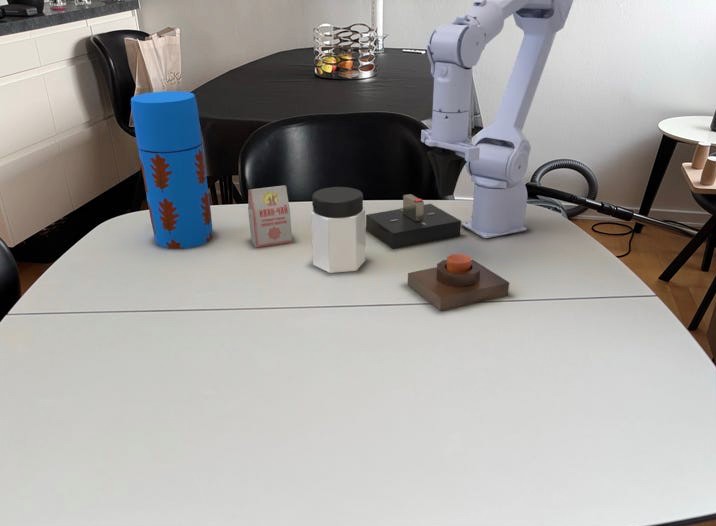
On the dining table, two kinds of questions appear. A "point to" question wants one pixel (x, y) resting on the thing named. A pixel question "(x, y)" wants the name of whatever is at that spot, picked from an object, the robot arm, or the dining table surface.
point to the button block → (457, 285)
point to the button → (458, 263)
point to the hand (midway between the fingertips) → (445, 194)
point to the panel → (412, 227)
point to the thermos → (173, 167)
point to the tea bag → (269, 216)
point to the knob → (413, 207)
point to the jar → (338, 229)
